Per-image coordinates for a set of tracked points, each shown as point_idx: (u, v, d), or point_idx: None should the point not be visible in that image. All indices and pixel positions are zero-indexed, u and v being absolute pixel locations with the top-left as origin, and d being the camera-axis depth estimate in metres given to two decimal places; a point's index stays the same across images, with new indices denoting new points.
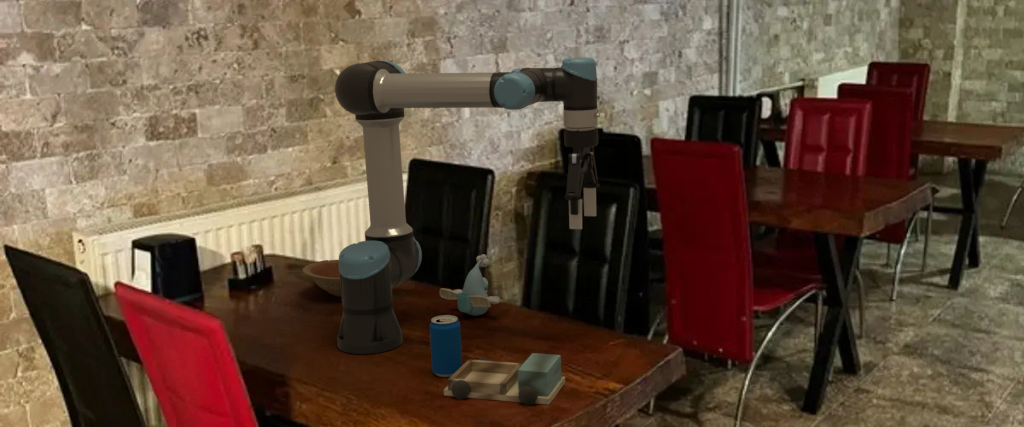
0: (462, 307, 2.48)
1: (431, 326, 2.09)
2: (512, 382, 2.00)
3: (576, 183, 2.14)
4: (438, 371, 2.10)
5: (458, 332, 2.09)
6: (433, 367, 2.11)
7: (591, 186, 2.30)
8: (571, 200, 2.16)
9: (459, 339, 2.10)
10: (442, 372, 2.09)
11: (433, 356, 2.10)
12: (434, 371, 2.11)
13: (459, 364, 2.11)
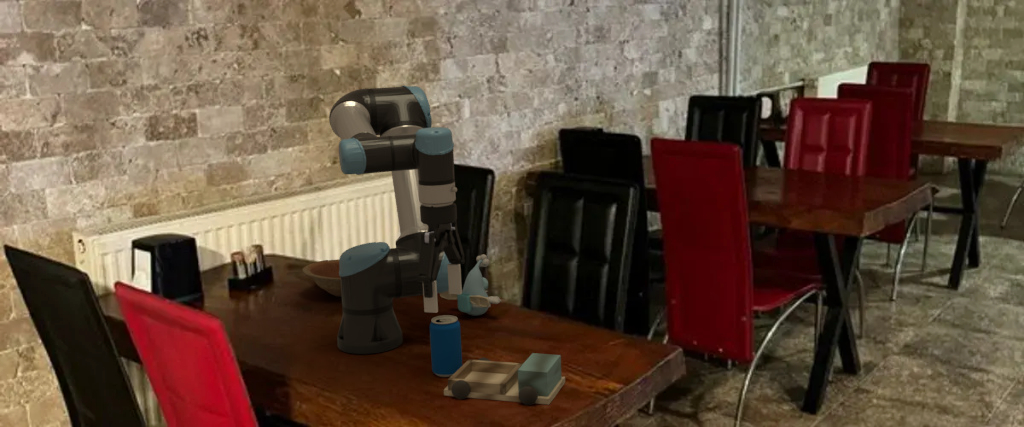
0: (462, 307, 2.48)
1: (431, 326, 2.09)
2: (512, 382, 2.00)
3: (428, 264, 1.99)
4: (438, 371, 2.10)
5: (458, 332, 2.09)
6: (433, 367, 2.11)
7: (455, 262, 2.15)
8: (424, 282, 2.00)
9: (459, 339, 2.10)
10: (442, 372, 2.09)
11: (433, 356, 2.10)
12: (434, 371, 2.11)
13: (459, 364, 2.11)
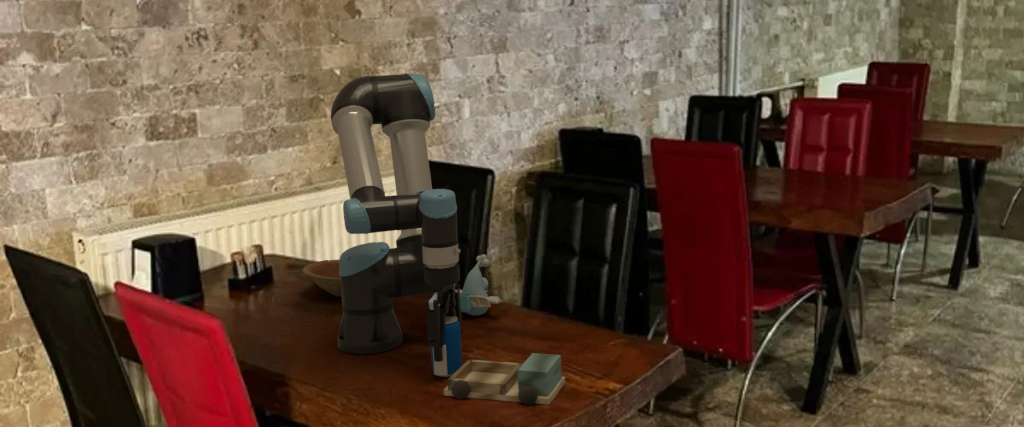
0: (462, 307, 2.48)
1: None
2: (512, 382, 2.00)
3: (436, 331, 2.04)
4: None
5: (458, 332, 2.09)
6: (433, 367, 2.11)
7: None
8: (434, 347, 2.06)
9: (459, 339, 2.10)
10: None
11: None
12: None
13: (459, 364, 2.11)
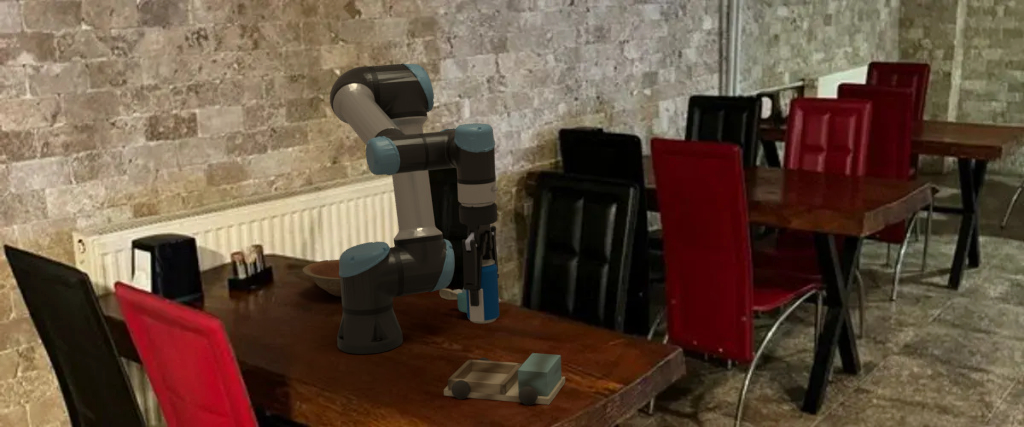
0: (462, 307, 2.48)
1: None
2: (512, 382, 2.00)
3: (473, 273, 1.92)
4: None
5: (495, 275, 1.98)
6: (469, 313, 1.99)
7: None
8: (470, 290, 1.95)
9: (496, 283, 1.98)
10: None
11: None
12: None
13: (496, 309, 1.99)
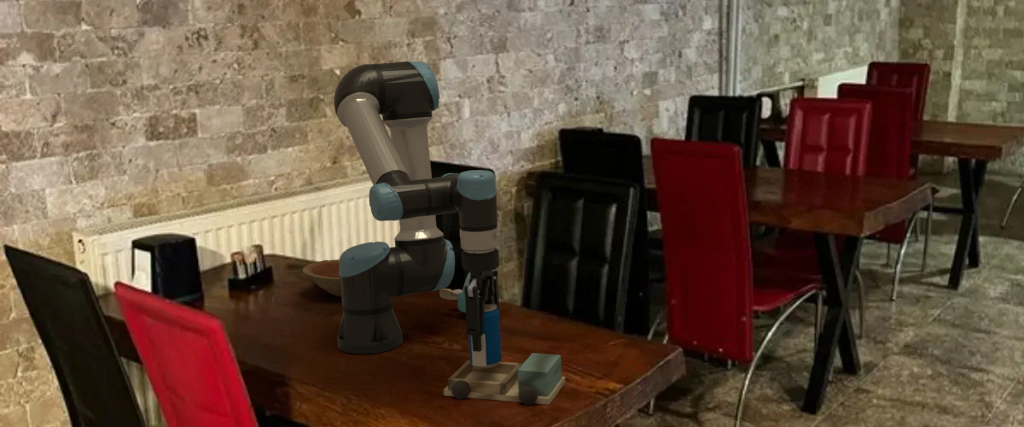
0: (462, 307, 2.48)
1: None
2: (512, 382, 2.00)
3: (476, 319, 1.94)
4: None
5: (497, 320, 1.99)
6: (471, 357, 2.01)
7: None
8: (473, 336, 1.96)
9: (498, 328, 2.00)
10: None
11: (471, 346, 2.00)
12: None
13: (499, 354, 2.01)
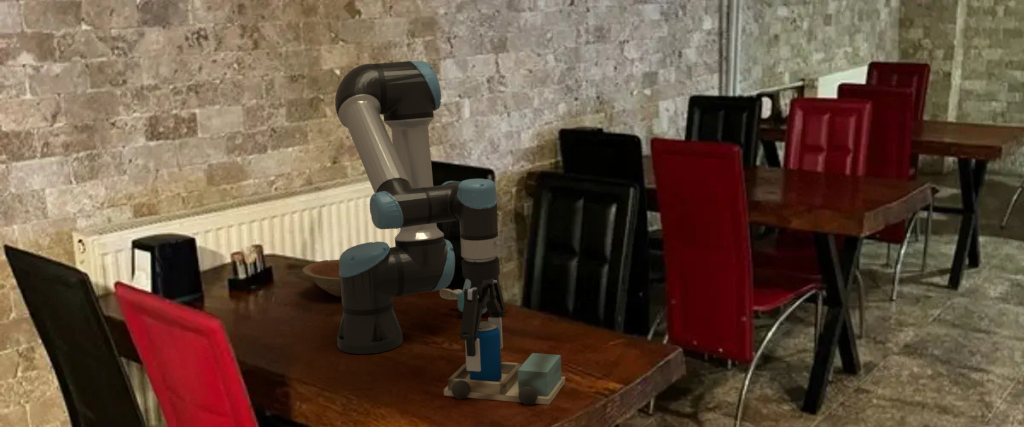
0: (462, 307, 2.48)
1: None
2: (512, 382, 2.00)
3: (471, 323, 1.92)
4: (476, 379, 2.01)
5: (498, 339, 2.00)
6: (471, 376, 2.02)
7: (496, 315, 2.08)
8: (467, 341, 1.93)
9: (499, 346, 2.01)
10: None
11: None
12: None
13: (499, 372, 2.01)
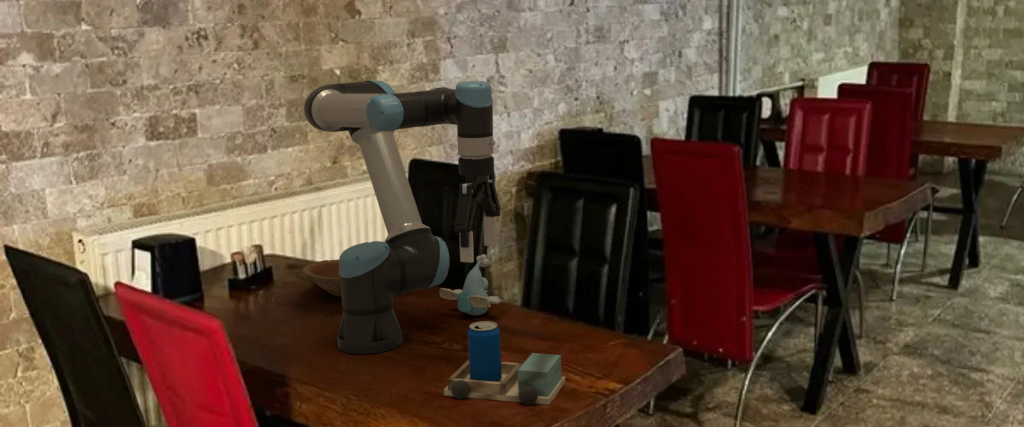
0: (462, 307, 2.48)
1: (470, 333, 2.00)
2: (512, 382, 2.00)
3: (465, 215, 2.03)
4: (476, 379, 2.01)
5: (498, 339, 2.00)
6: (471, 376, 2.02)
7: (491, 215, 2.19)
8: (461, 232, 2.05)
9: (499, 346, 2.01)
10: None
11: (471, 364, 2.01)
12: None
13: (499, 372, 2.01)
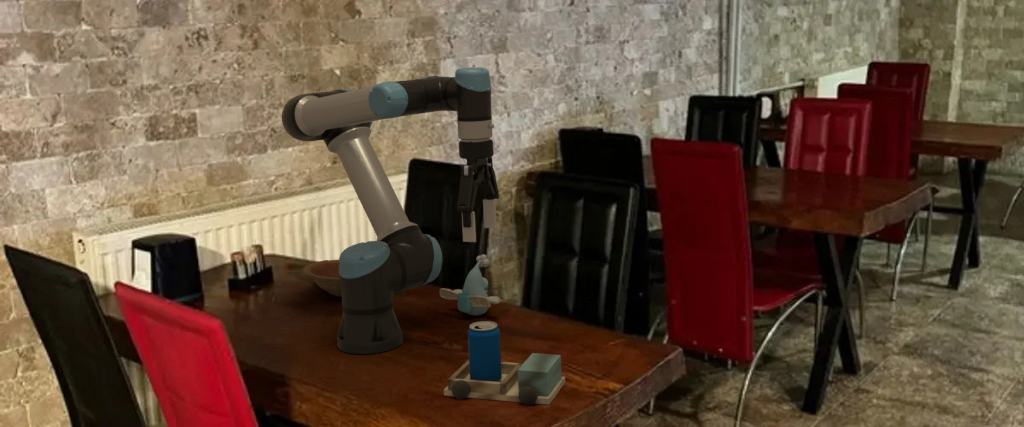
0: (462, 307, 2.48)
1: (470, 333, 2.00)
2: (512, 382, 2.00)
3: (467, 195, 2.11)
4: (476, 379, 2.01)
5: (498, 339, 2.00)
6: (471, 376, 2.02)
7: (490, 198, 2.26)
8: (463, 213, 2.12)
9: (499, 346, 2.01)
10: None
11: (471, 364, 2.01)
12: None
13: (499, 372, 2.01)
